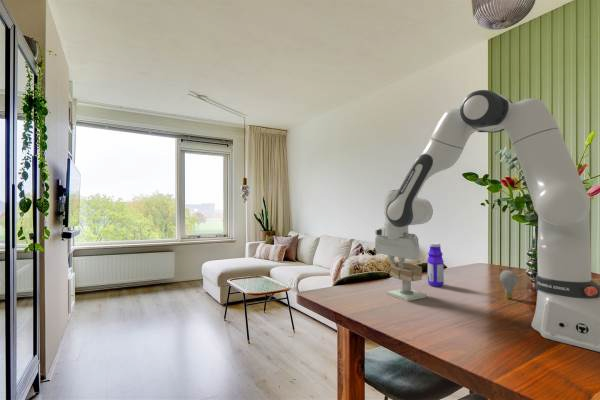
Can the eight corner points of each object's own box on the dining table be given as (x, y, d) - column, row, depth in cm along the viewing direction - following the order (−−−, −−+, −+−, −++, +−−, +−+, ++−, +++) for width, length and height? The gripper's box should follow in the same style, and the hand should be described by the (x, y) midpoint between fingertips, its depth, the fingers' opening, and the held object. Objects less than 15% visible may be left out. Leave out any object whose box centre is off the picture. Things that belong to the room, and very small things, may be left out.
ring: (427, 278, 119) (428, 269, 119) (405, 282, 114) (406, 272, 114) (404, 269, 129) (405, 261, 128) (383, 272, 123) (384, 263, 123)
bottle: (446, 287, 132) (445, 244, 132) (432, 287, 132) (431, 244, 132) (439, 283, 139) (438, 242, 140) (425, 283, 140) (425, 242, 140)
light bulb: (500, 299, 115) (500, 271, 115) (499, 295, 120) (498, 268, 120) (519, 301, 112) (518, 272, 112) (517, 297, 117) (516, 269, 117)
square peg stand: (427, 296, 119) (426, 277, 119) (407, 301, 114) (407, 281, 114) (406, 290, 128) (405, 272, 128) (386, 294, 123) (386, 275, 123)
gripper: (423, 233, 118) (424, 272, 118) (383, 229, 136) (384, 263, 136) (411, 234, 115) (411, 274, 115) (372, 230, 133) (372, 264, 133)
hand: (396, 268), depth 125 cm, fingers closed on ring, 2 cm apart
